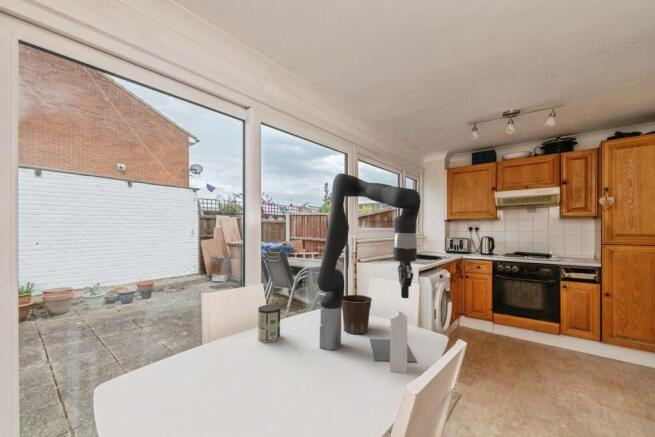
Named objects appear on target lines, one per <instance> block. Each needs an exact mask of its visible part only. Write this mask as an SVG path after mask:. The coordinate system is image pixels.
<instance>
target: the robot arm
mask: <svg viewBox="0 0 655 437" xmlns="http://www.w3.org/2000/svg"><path fill="white" fill-rule="evenodd" d="M345 197H347V198H351V197H354V198H355V197H357V198H359V197H361V198H367V199H369V200H371V201H373V202H376V203H381V204H384V205H388V206H390V207H392V208H396V209H402V211H401V213H400V214H401V215H398V216H397V217H396V218H395V219H394V238H393V260H394V261H397V262H399V264H398V266H397V273H398V282H399V286H400V288H401V289H400V294H401V295H400V296H401V298H402V299H409V297H410V296H409V294H410V292H409V289H410V287H411V286H412V281H413V277H414V273H413V266H412V265H411V262H415V261H417V260H418V259H417V258H418V254H417V253H418V247H417V246H418V245H417V243H418V242H417V241H418V240H417V219H418V215H419V211H420V208H421V196H420V193H419V192H418V191H417V190H416V189H413V188H408V187H400V186H395V185H394V186H393V185H390V184H385V183H380V182H379V183H378V182H370V181H369V182H368V181H365V180H363V179H360V178H358V177H357V176H355V175H350V174H346V173H341V172H340V173H338V174H336V176H335V177H334V178H333V182H332V188H331V201H330V202H331V203H330V210H329V211H330V213H329V219H328V225H327V230H326V238H325V244H324V249H323V254H322V260H321V263H320V266H319V267H320V268H319V270H318V275H317V287H318V288H319V290H320V291H321V292H324V293H325V294H324V296H323V297H322V298H321V299H320V324H319V349H324V350H328V351H329V350H331V351H332V350H337V349H340V348H341V346H342V301H343V297H344V296H345V295H344V294H345V278H344V277H345V276H344V274H343V272H342V271H341V270H340V269H339V268H338V269H337V263H338V260H339V258H340V256H341V255H342V253H343V251H344V249H345V247H346V245H347V242H348V237H349V232H350V226H349V225H350V224H349V220H348V218H347V215H346V212H345V199H346V198H345Z"/></svg>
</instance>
